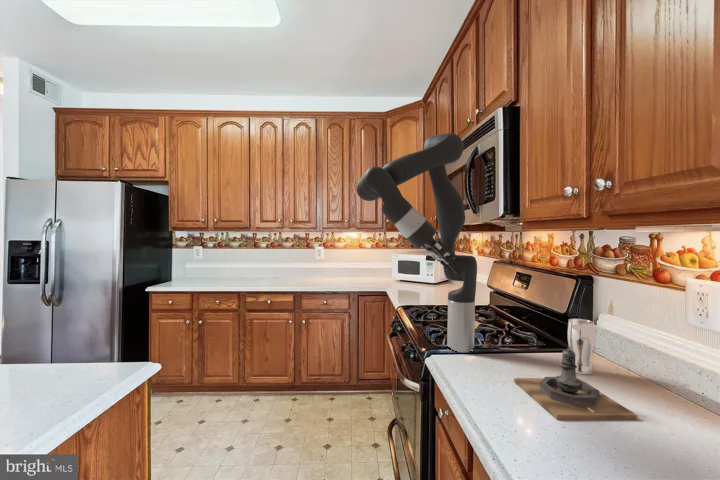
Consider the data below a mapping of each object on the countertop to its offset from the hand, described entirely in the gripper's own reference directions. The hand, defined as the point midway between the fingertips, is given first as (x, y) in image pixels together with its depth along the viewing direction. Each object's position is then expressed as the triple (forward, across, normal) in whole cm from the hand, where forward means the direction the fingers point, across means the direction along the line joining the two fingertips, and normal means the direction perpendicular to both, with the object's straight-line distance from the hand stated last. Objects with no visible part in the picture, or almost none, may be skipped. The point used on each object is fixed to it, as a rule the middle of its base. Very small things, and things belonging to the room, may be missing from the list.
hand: (456, 270), depth 96 cm
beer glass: (+51, +8, -7) cm, 52 cm away
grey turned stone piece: (+39, -10, +3) cm, 41 cm away
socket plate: (+40, -10, +4) cm, 41 cm away
